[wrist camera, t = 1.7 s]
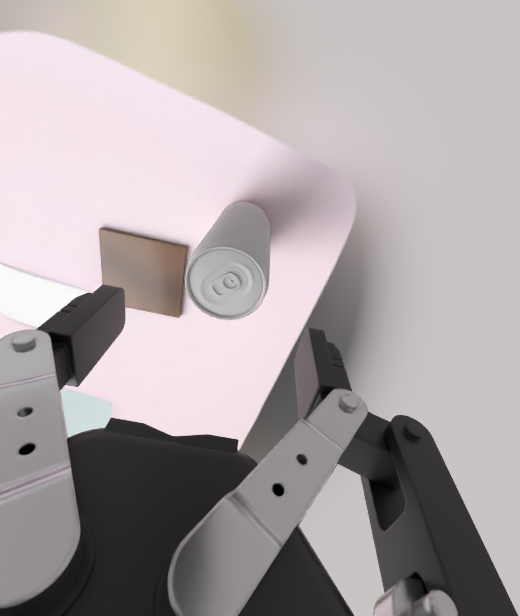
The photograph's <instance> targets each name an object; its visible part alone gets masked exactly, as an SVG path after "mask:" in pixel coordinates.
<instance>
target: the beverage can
mask: <svg viewBox="0 0 520 616" xmlns="http://www.w3.org/2000/svg"><path fill="white" fill-rule="evenodd" d="M270 235H271V227H270V221H269V219H268V217H267V215H266V213H265V212H264V211H263V210H262V209H261V208H260V207H258V206H257V205H256V204H253V203H250V202H244V201H240V202H235V203H233V204H231V205H229V206H227V207H226V209H225V210H224V211H223V212H222V213H221V215H220V216H219V218H218V219H217V221H216V222H215V224H214V225H213V226H212V228H211V229H210V231H209V232H208V233H207V235H206V236H205V237H204V238H203V240H202V241H201V243H200V244H199V245H198V247H197V248H196V250H195V251H194V253H193V254H192V256H191V258H190V259H189V261H188V265H187V269H186V274H185V287H186V290H187V293H188V296H189V297H190V299H191V300H192V302H193V303H194V305H195V306H196V307H198V308H199V309H200V310H201V311H202V312H204V313H206V314H207V315H209V316H211V317H215V318H218V319H224V320H234V319H240V318H243V317H245V316H248V315H249V314H251V313H252V312H254V311H255V310H256V309H257V308H258V307H259V306H260V304H261V303H262V301H263V299H264V297H265V295H266V292H267V290H268V284H269V267H270Z"/></svg>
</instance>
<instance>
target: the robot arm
mask: <svg viewBox="0 0 520 616" xmlns="http://www.w3.org/2000/svg"><path fill="white" fill-rule="evenodd" d="M124 324H125V291H124V289H123V288H121V287H116V286H111V285H106V284H103V285H102V286H101V287H99V288H98V289H97V290H96V291H95V292H94V293H86V294H84V295H81V296H79V297H76V298H75V299H73V300H72V301H71V302H70V303H69V304H67V306H65V307H64V308H62V309H61V310H60V312H57V313H56V314H55V315H54V316H52V317H51V318H50V319H49V320H47V321H46V322H45V323H44V324H42V325H41V326H40V327H39V328H37V329H36V330H22V331H17V332H14V333H11V334H8V335H6V336H5V337H3V338H1V339H0V616H354V615H353V613H352V611H351V610H350V608H349V606H348V605H347V603H346V602H345V600H344V598H343V597H342V595H341V594H340V592H339V590H338V589H337V587H336V585H335V584H334V582H333V580H332V579H331V577H330V576H329V574H328V573H327V571H326V569H325V568H324V566H323V565H322V563H321V561H320V559H319V558H318V556H317V555H316V553H315V552H314V550H313V548H312V547H311V545H310V543H309V542H308V540H307V539H306V537H305V535H304V534H303V532H302V530H301V529H300V527H299V525H300V523H301V521H302V520H303V518H304V517H305V515H306V513H307V512H308V510H309V508H310V507H311V505H312V504H313V502H314V500H315V499H316V497H317V496H318V494H319V493H320V491H321V489H322V488H323V486H324V485H325V483H326V481H327V480H328V478H329V477H330V475H331V474H332V472H333V470H334V468H335V467H336V465H337V464H339V465H341V466H343V467H345V468H347V469H350V470H351V471H354V472H355V473H358V474H359V475H360V476H361V480H362V485H363V490H364V495H365V500H366V505H367V509H368V514H369V519H370V524H371V529H372V534H373V539H374V543H375V548H376V553H377V558H378V563H379V568H380V572H381V577H382V582H383V587H384V592H385V593H384V594H383V595H382V596H381V597H379V599H378V600H377V602H376V604H375V607H374V612H373V616H518V615H517V612H516V611H515V608H514V606H513V604H512V602H511V600H510V598H509V596H508V594H507V592H506V589H505V587H504V586H503V584H502V581H501V579H500V577H499V575H498V573H497V571H496V569H495V567H494V564H493V562H492V560H491V558H490V556H489V554H488V552H487V550H486V548H485V546H484V544H483V542H482V539H481V537H480V535H479V533H478V531H477V529H476V527H475V525H474V523H473V521H472V519H471V517H470V514H469V513H468V510H467V508H466V506H465V504H464V502H463V500H462V498H461V496H460V494H459V492H458V490H457V488H456V485H455V483H454V481H453V479H452V477H451V475H450V473H449V471H448V469H447V467H446V465H445V462H444V460H443V458H442V456H441V454H440V452H439V450H438V448H437V446H436V444H435V441H434V439H433V437H432V436H431V434H430V432H429V431H428V430H427V429H426V428H425V427H424V426H423V425H422V424H421V423H420V422H418V421H417V420H415V419H413V418H410V417H408V416H404V415H397V416H395V417H394V418H393V419H392V421H391V422H389V421H387V420H385V419H382V418H380V417H378V416H376V415H374V414H372V413H370V412H368V410H367V406H366V404H365V403H364V401H363V400H362V399H361V398H360V397H359V396H358V395H357V394H355V393H353V392H352V389H351V386H350V383H349V380H348V377H347V373H346V371H345V368H344V364H343V361H342V358H341V354H340V352H339V350H338V349H337V348H336V347H335V345H334V344H333V343H330V342H327V341H326V337H325V333H324V330H321V329H316V328H311V327H306V328H305V330H304V333H303V336H302V338H301V341H300V344H299V347H298V349H297V352H296V356H295V361H294V370H295V381H296V392H297V402H298V412H299V421H298V422H297V423H296V424H295V425H294V427H293V428H292V429H291V430H290V431H289V432H288V433H287V434H286V435H285V436H284V437H283V438H282V439H281V441H280V442H279V443H278V444H277V445H276V446H275V447H274V448H273V449H272V450H271V451H270V452H269V453H268V454H267V456H266V457H265V458H264V459H263V460H262V461H261V462H260V463H259V464H257V463H256V462H255V461H254V460H253V459H252V458H250V457H249V456H248V455H246V454H244V453H243V452H241V451H239V450H237V447H238V440H237V439H231V438H225V437H219V436H214V435H192V436H171V435H168V434H166V433H164V432H162V431H159V430H157V429H155V428H153V427H150V426H148V425H146V424H144V423H138V422H133V421H127V420H121V419H115V418H111V419H110V421H109V422H108V424H107V426H106V428H99V429H93V430H89V431H85V432H82V433H79V434H76V435H73V436H71V437H69V438H68V435H67V429H66V423H65V417H64V411H63V405H62V399H61V393H60V390H61V389H62V388H63V387H64V386H65V385H70V386H75V387H78V386H79V385H80V384H81V382H82V381H83V380H84V379H85V377H86V376H87V375H88V374H89V372H90V371H91V370H92V369H93V367H94V366H95V365H96V363H97V362H98V361H99V360H100V358H101V357H102V356H103V355H104V353H105V352H106V351H107V349H108V348H109V347H110V346H111V344H112V343H113V342H114V341H115V339H116V338H117V337H118V336H119V334H120V333H121V331H122V330H123V327H124Z"/></svg>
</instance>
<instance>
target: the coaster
mask: <svg viewBox="0 0 520 616" xmlns="http://www.w3.org/2000/svg"><path fill="white" fill-rule="evenodd" d="M99 236H100V251H101V266H102V282H103V284H106V285H111V286H116V287H121V288H123V289H124V291H125V307H128V308H133V309H138V310H143V311H148V312H153V313H158V314H163V315H168V316H173V317H178V318H179V317H180V313H181V302H182V291H183V280H184V270H185V259H186V248H187V247H185V246H181V245H176V244H172V243H167V242H163V241H158V240H154V239H149V238H145V237H140V236H136V235H131V234H126V233H122V232H117V231H113V230H108V229H104V228H100V229H99Z"/></svg>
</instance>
